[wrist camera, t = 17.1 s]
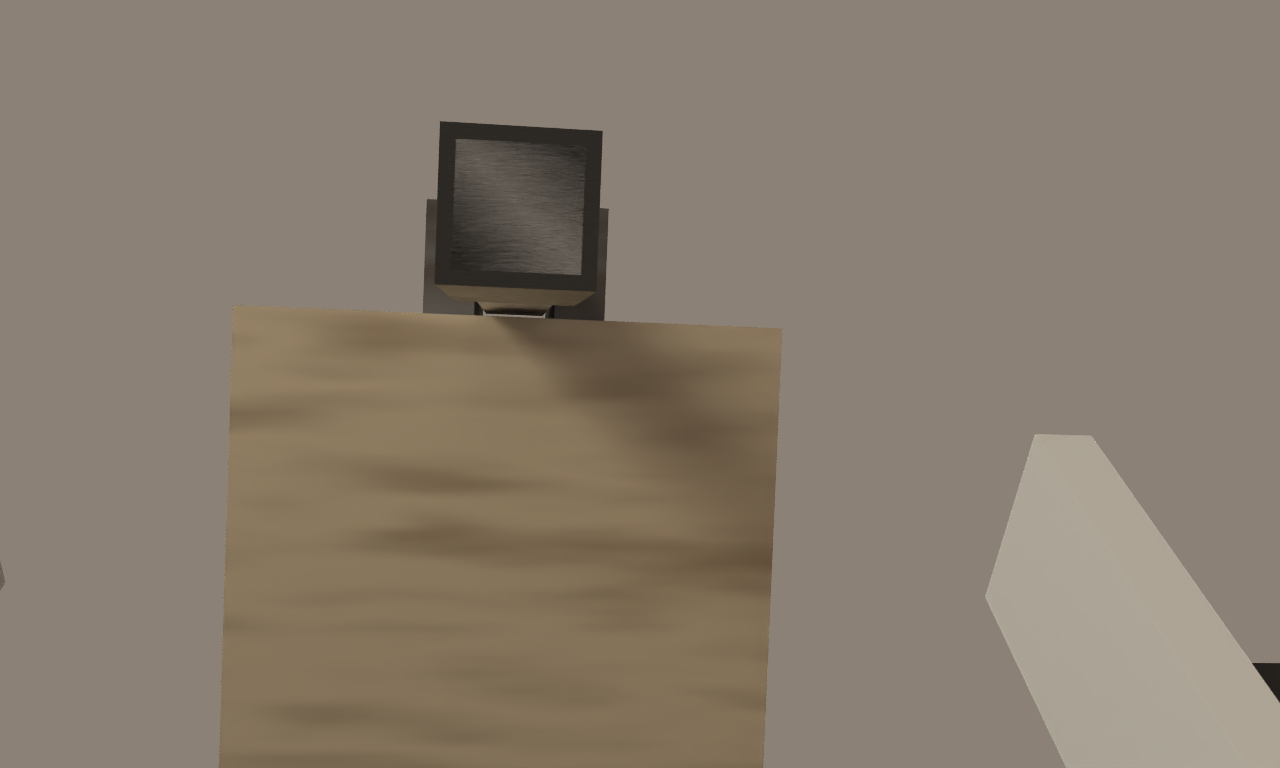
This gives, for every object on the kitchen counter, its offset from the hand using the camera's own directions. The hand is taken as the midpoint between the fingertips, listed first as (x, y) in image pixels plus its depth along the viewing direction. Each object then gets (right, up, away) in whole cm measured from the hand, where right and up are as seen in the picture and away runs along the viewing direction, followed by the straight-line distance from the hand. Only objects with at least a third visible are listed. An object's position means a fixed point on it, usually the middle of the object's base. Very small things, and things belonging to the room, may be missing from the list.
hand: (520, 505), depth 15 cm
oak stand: (-5, -29, +40) cm, 49 cm away
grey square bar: (-2, +4, +22) cm, 23 cm away
